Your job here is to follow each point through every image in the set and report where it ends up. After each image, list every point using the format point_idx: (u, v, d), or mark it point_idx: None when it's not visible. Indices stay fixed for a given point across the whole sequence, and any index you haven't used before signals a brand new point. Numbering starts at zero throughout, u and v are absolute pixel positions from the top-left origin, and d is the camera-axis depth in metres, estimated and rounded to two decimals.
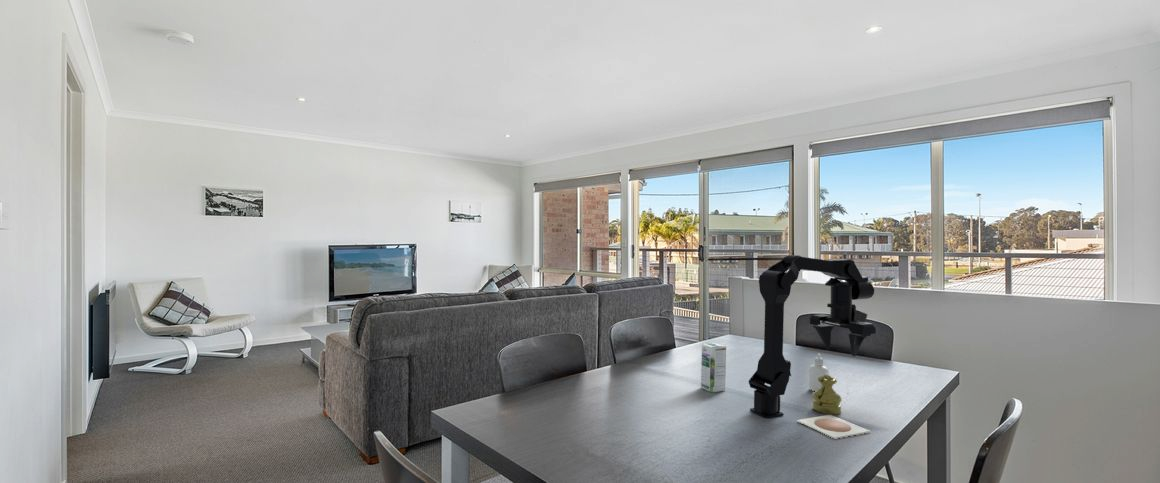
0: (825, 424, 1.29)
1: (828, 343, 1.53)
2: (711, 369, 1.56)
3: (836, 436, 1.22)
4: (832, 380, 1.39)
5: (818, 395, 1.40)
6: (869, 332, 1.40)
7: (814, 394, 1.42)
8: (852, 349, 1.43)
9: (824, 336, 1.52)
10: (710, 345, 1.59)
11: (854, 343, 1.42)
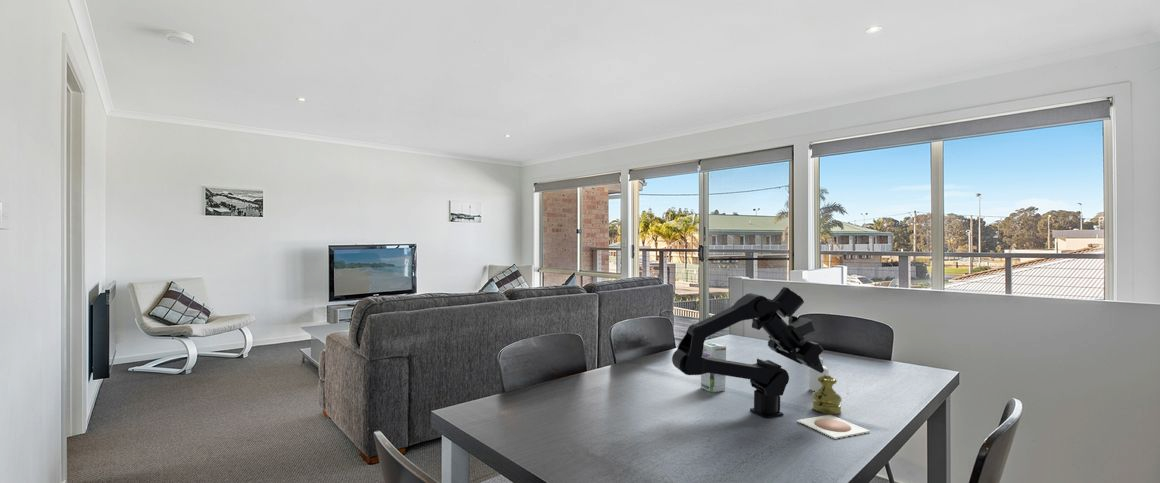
0: (825, 424, 1.29)
1: None
2: None
3: (836, 436, 1.22)
4: (832, 380, 1.39)
5: (818, 395, 1.40)
6: (816, 356, 1.31)
7: (814, 394, 1.42)
8: None
9: (790, 356, 1.45)
10: (710, 345, 1.59)
11: (812, 367, 1.34)
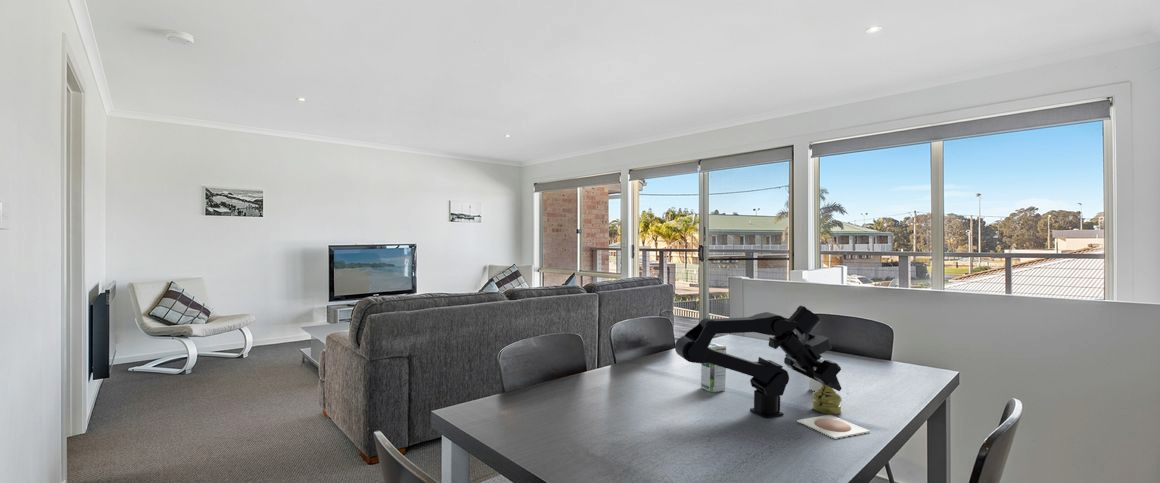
0: (825, 424, 1.29)
1: None
2: (711, 369, 1.56)
3: (836, 436, 1.22)
4: None
5: (818, 395, 1.40)
6: (833, 375, 1.31)
7: (814, 394, 1.42)
8: (833, 388, 1.36)
9: (807, 374, 1.46)
10: (710, 345, 1.59)
11: (830, 385, 1.35)
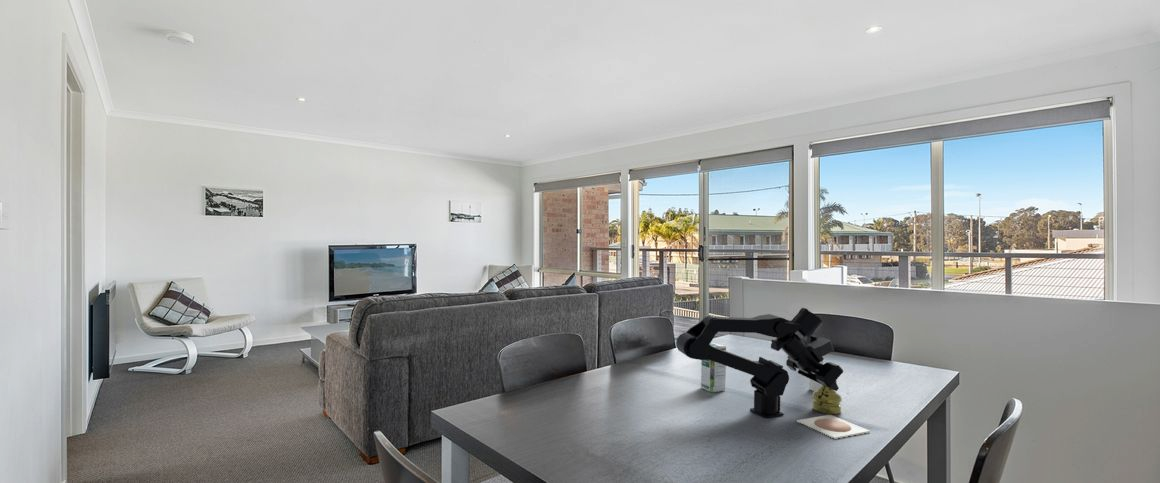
0: (825, 424, 1.29)
1: None
2: (711, 369, 1.56)
3: (836, 436, 1.22)
4: None
5: (818, 394, 1.40)
6: (836, 377, 1.32)
7: (814, 394, 1.42)
8: None
9: (813, 378, 1.44)
10: None
11: (827, 385, 1.37)
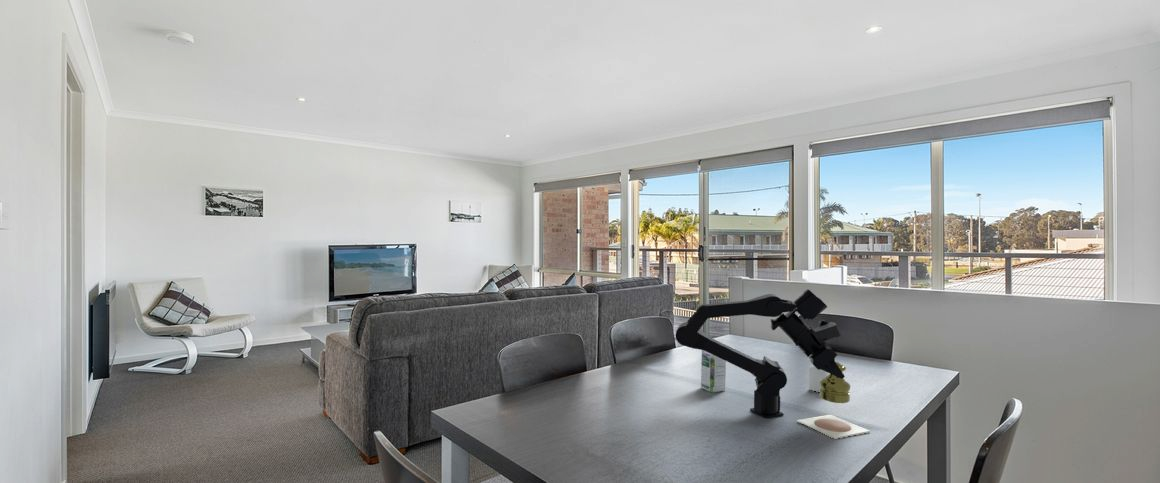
0: (825, 424, 1.29)
1: None
2: (711, 369, 1.56)
3: (836, 436, 1.22)
4: None
5: (823, 381, 1.34)
6: (827, 361, 1.26)
7: (820, 380, 1.36)
8: None
9: None
10: None
11: (827, 371, 1.31)
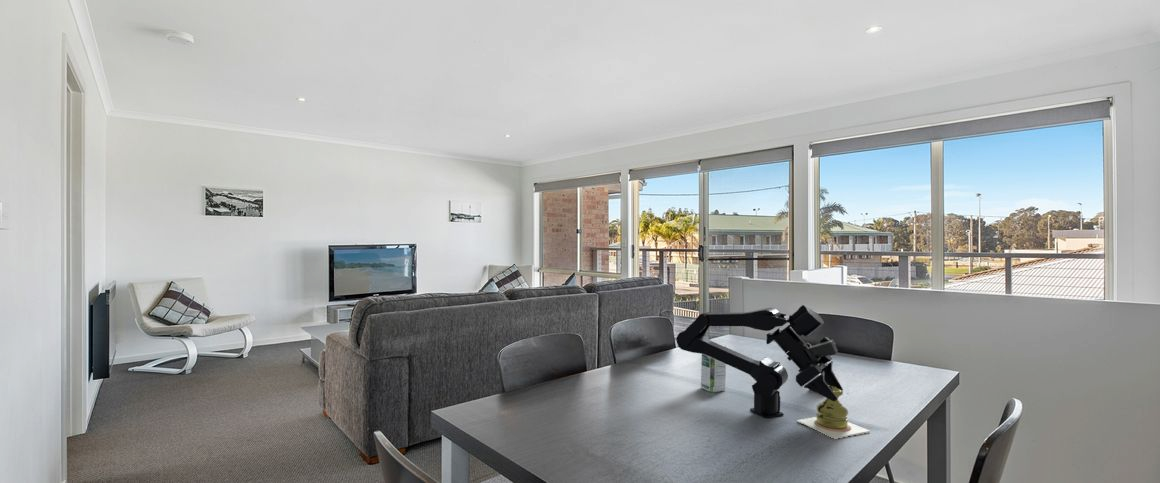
0: None
1: (836, 385, 1.32)
2: (711, 369, 1.56)
3: (836, 436, 1.22)
4: None
5: (818, 404, 1.30)
6: (808, 378, 1.24)
7: (818, 404, 1.32)
8: None
9: (826, 381, 1.34)
10: None
11: (817, 391, 1.26)
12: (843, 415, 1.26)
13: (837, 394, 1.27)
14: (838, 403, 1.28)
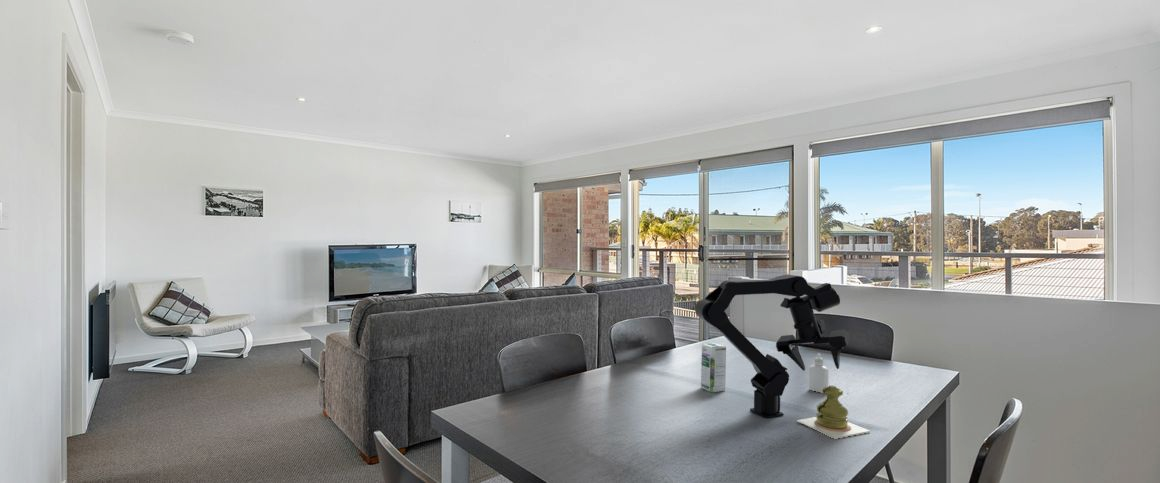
0: None
1: (802, 363, 1.43)
2: (711, 369, 1.56)
3: (836, 436, 1.22)
4: (832, 391, 1.27)
5: (818, 404, 1.30)
6: (848, 340, 1.34)
7: (818, 404, 1.32)
8: (836, 362, 1.36)
9: (798, 359, 1.42)
10: (710, 345, 1.59)
11: (837, 356, 1.35)
12: (843, 415, 1.26)
13: (837, 394, 1.27)
14: (838, 403, 1.28)
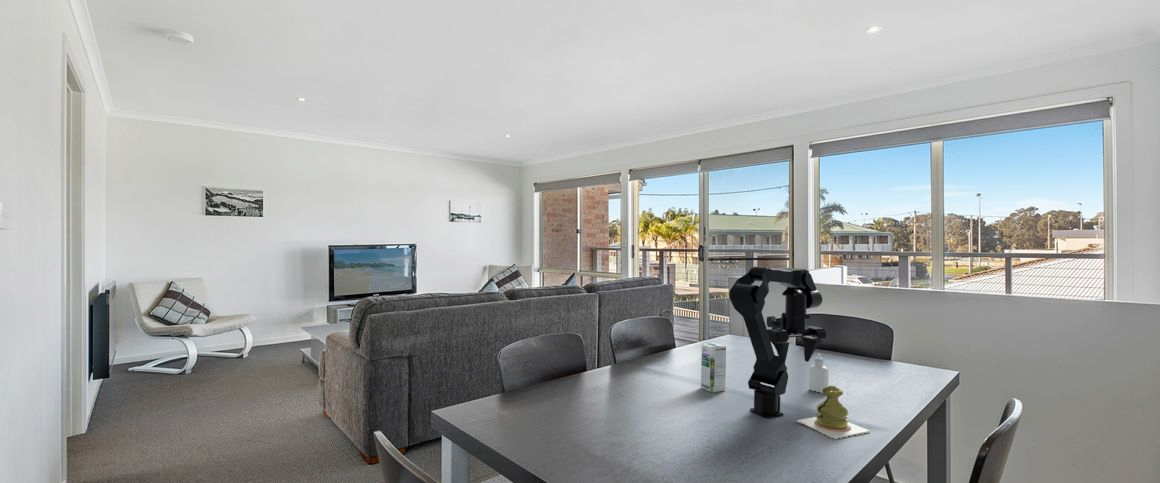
0: None
1: None
2: (711, 369, 1.56)
3: (836, 436, 1.22)
4: (832, 391, 1.27)
5: (818, 404, 1.30)
6: None
7: (818, 404, 1.32)
8: (811, 355, 1.48)
9: None
10: (710, 345, 1.59)
11: None
12: (843, 415, 1.26)
13: (837, 394, 1.27)
14: (838, 403, 1.28)
